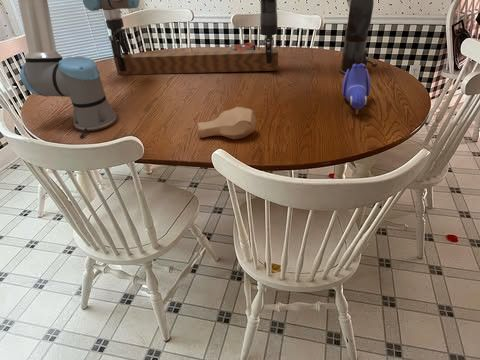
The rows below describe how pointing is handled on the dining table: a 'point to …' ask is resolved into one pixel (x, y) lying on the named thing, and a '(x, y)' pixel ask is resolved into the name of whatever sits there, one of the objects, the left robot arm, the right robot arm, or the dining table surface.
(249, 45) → the tape dispenser
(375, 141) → the dining table surface
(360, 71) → the toy
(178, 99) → the dining table surface
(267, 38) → the right robot arm
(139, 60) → the beam
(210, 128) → the squash
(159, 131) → the dining table surface
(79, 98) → the left robot arm
